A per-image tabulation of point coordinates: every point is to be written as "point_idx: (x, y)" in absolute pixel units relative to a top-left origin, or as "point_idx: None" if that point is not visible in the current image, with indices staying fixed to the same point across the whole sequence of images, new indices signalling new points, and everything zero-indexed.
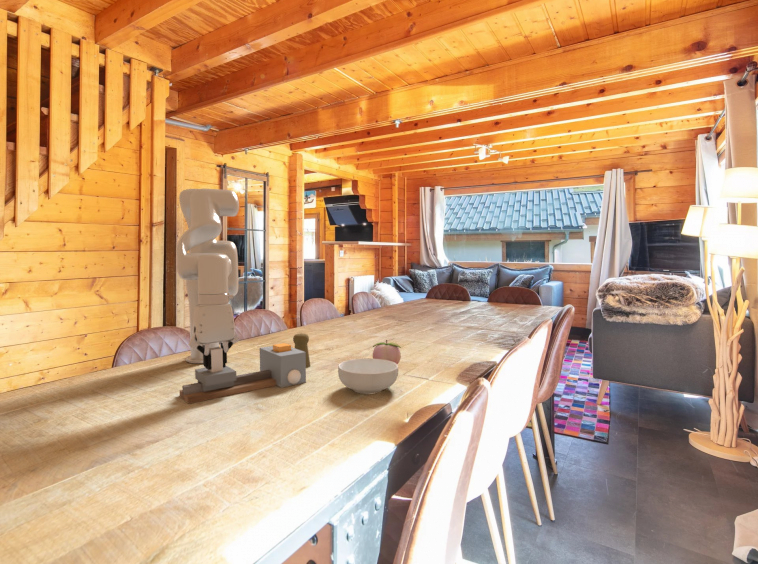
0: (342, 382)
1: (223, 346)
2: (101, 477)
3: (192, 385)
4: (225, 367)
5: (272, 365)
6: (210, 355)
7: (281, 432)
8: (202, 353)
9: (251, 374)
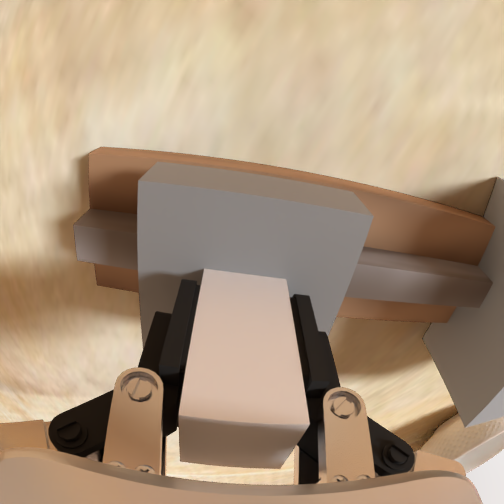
0: (431, 444)
1: (294, 479)
2: (4, 408)
3: (112, 259)
4: (324, 291)
5: (486, 335)
6: (177, 425)
7: (218, 470)
8: (127, 384)
9: (415, 298)
